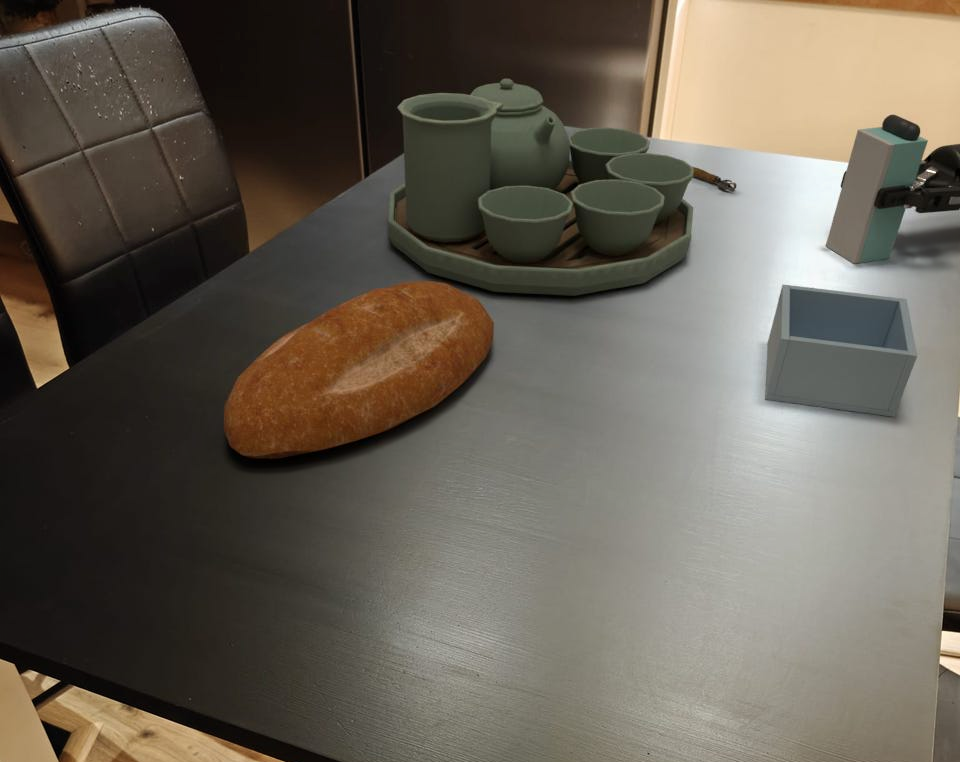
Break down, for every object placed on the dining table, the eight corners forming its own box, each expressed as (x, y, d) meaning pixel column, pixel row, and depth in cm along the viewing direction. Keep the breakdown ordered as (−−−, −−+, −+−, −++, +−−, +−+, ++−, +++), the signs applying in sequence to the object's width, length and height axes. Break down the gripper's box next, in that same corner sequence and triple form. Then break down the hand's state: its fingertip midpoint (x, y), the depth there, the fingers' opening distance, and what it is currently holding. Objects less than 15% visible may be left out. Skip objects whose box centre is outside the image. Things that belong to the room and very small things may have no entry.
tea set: (609, 331, 104) (628, 174, 93) (326, 249, 119) (312, 104, 107) (736, 219, 129) (764, 84, 117) (488, 162, 143) (491, 37, 132)
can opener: (687, 174, 141) (689, 166, 140) (699, 172, 142) (700, 164, 141) (730, 194, 135) (732, 185, 135) (742, 191, 136) (743, 182, 136)
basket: (885, 357, 101) (906, 298, 97) (894, 417, 93) (917, 355, 88) (767, 342, 103) (782, 283, 99) (764, 399, 95) (781, 338, 90)
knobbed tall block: (860, 240, 124) (899, 110, 113) (889, 258, 120) (933, 125, 109) (825, 246, 123) (861, 114, 112) (853, 264, 119) (894, 129, 108)
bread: (540, 350, 101) (545, 269, 95) (305, 501, 81) (293, 410, 74) (416, 303, 108) (414, 225, 102) (173, 431, 88) (152, 343, 82)
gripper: (939, 126, 122) (833, 138, 117) (1022, 162, 112) (909, 176, 108) (919, 186, 127) (817, 201, 123) (996, 225, 118) (888, 242, 113)
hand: (861, 189), depth 115 cm, fingers closed on knobbed tall block, 6 cm apart
